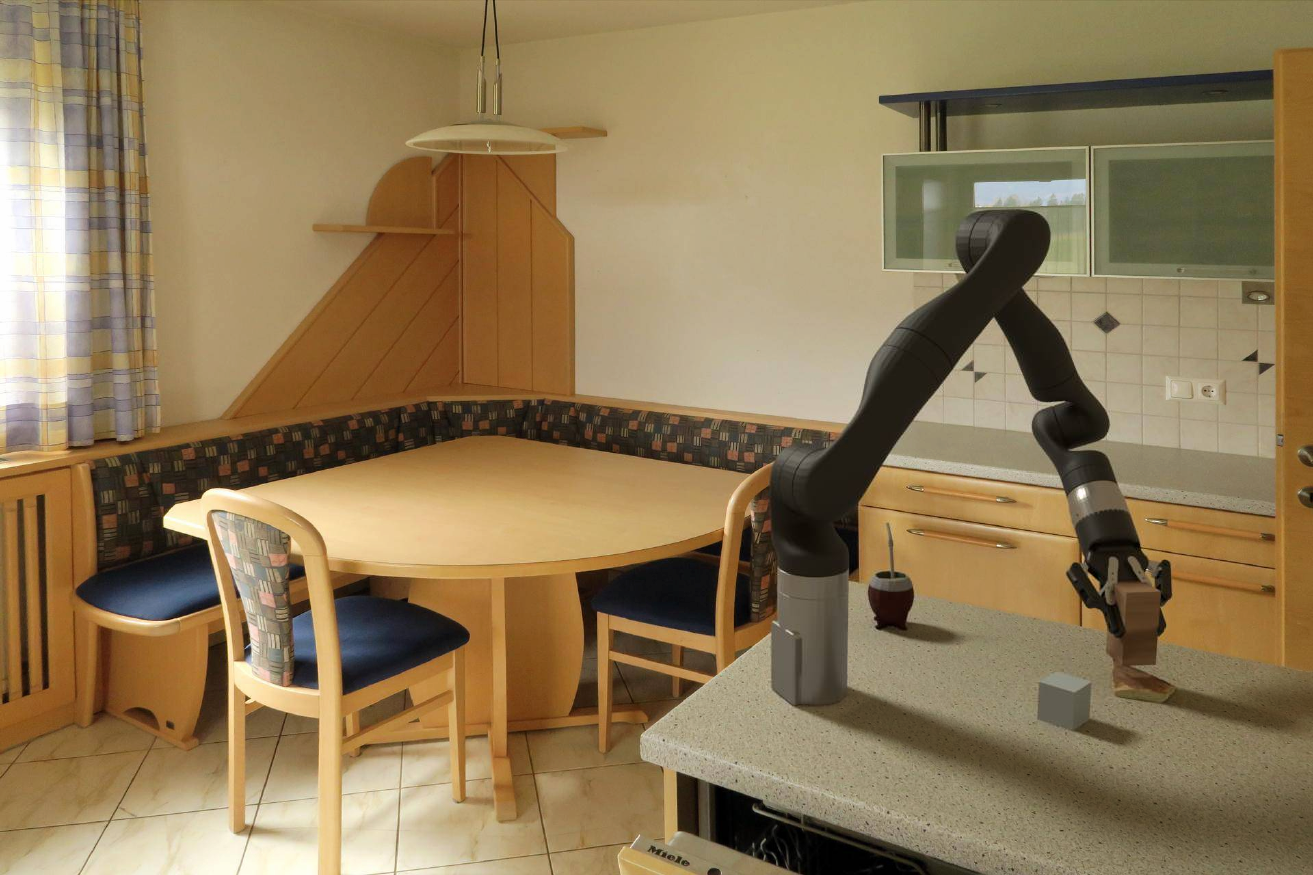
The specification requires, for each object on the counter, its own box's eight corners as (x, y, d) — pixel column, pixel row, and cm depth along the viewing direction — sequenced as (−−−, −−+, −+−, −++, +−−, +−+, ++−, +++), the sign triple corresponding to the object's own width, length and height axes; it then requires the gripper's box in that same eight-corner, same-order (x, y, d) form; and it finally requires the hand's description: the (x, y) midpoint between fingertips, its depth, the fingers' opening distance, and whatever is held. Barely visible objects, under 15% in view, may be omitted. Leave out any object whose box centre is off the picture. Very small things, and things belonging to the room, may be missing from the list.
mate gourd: (892, 636, 156) (894, 540, 153) (853, 622, 162) (855, 530, 159) (924, 625, 160) (927, 532, 157) (885, 611, 166) (887, 522, 164)
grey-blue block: (1072, 731, 124) (1074, 692, 123) (1037, 719, 127) (1039, 681, 127) (1089, 719, 127) (1091, 681, 126) (1054, 708, 130) (1056, 671, 130)
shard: (1111, 668, 143) (1112, 656, 143) (1172, 676, 140) (1173, 664, 140) (1110, 699, 134) (1111, 686, 133) (1176, 708, 131) (1177, 695, 130)
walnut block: (1155, 664, 134) (1160, 591, 132) (1121, 665, 134) (1126, 592, 132) (1138, 651, 138) (1143, 580, 136) (1105, 652, 138) (1110, 581, 136)
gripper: (1060, 508, 140) (1096, 624, 130) (1163, 505, 140) (1207, 620, 130) (1042, 535, 146) (1075, 648, 136) (1141, 532, 146) (1181, 644, 137)
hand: (1139, 634), depth 133 cm, fingers closed on walnut block, 4 cm apart
